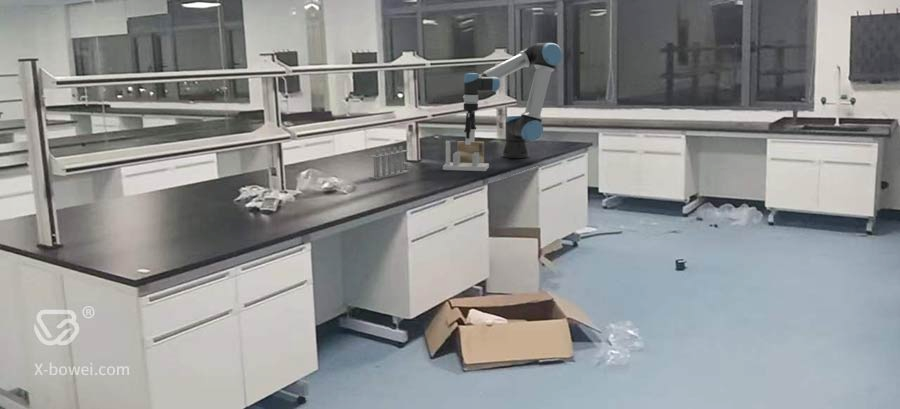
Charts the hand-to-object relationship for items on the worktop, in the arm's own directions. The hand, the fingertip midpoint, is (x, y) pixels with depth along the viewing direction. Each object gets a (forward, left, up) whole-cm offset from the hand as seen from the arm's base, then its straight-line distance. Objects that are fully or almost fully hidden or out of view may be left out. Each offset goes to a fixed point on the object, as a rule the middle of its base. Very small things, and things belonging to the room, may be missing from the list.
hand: (470, 143), depth 403 cm
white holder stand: (+15, 0, -11) cm, 19 cm away
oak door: (0, 0, -11) cm, 11 cm away
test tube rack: (+40, -33, -12) cm, 54 cm away
